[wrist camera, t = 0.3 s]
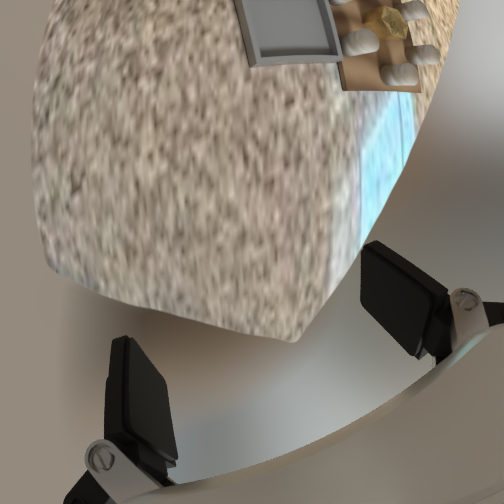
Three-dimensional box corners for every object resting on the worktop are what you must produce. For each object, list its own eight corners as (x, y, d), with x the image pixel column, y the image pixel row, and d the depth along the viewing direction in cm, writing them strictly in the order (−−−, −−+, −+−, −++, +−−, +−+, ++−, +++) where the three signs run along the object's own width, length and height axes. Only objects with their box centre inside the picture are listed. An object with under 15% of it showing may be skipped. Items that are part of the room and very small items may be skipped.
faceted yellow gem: (366, 38, 32) (385, 33, 27) (358, 10, 29) (376, 3, 25) (392, 43, 33) (411, 40, 29) (385, 16, 30) (404, 11, 26)
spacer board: (307, -35, 24) (329, -52, 18) (392, -14, 27) (416, -21, 21) (340, 91, 36) (369, 88, 30) (418, 93, 40) (445, 94, 34)
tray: (231, -9, 25) (236, -18, 22) (314, -7, 27) (324, -13, 24) (250, 67, 32) (256, 63, 29) (332, 63, 34) (343, 60, 31)
